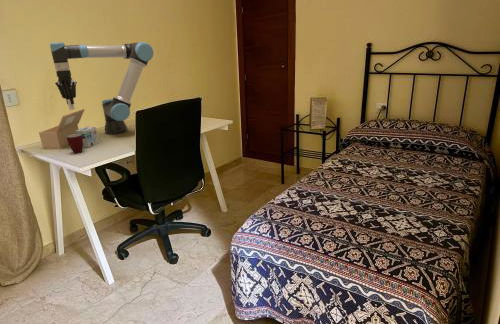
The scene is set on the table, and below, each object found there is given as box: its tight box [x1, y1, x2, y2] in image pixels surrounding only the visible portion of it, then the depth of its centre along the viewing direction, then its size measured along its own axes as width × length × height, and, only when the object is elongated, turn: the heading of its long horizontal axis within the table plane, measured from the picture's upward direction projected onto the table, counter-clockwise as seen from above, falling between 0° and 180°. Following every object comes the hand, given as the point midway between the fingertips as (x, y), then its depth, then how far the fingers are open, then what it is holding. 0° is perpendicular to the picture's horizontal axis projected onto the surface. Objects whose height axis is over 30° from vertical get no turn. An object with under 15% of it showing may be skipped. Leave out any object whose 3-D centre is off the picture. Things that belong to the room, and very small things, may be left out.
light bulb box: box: [76, 126, 99, 149], centre depth 212 cm, size 11×7×11 cm, turn 168°
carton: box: [38, 124, 79, 149], centre depth 219 cm, size 12×20×10 cm, turn 170°
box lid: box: [56, 108, 86, 132], centre depth 213 cm, size 12×20×1 cm
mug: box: [67, 134, 83, 154], centre depth 201 cm, size 10×8×10 cm
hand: (72, 109), depth 211 cm, fingers closed
